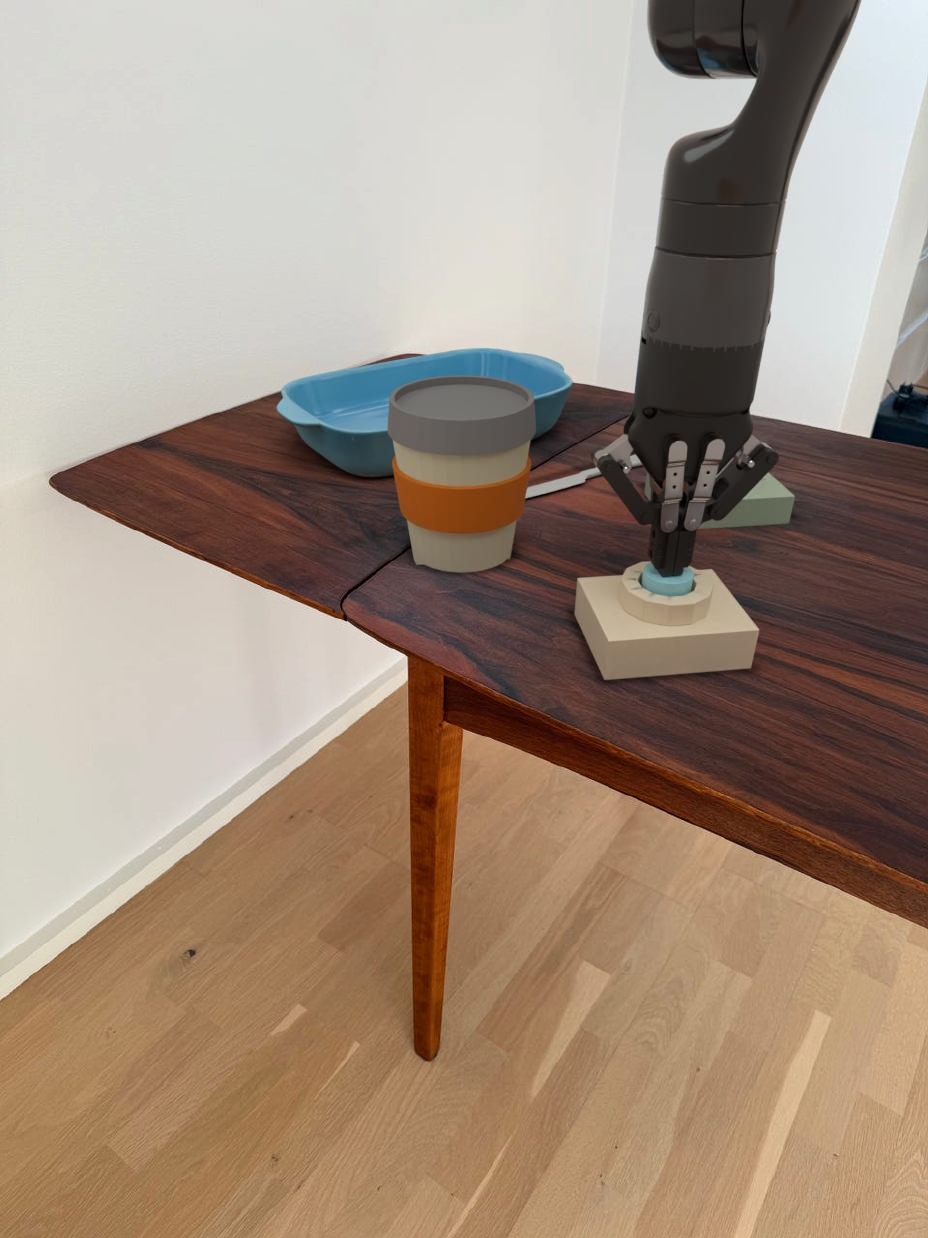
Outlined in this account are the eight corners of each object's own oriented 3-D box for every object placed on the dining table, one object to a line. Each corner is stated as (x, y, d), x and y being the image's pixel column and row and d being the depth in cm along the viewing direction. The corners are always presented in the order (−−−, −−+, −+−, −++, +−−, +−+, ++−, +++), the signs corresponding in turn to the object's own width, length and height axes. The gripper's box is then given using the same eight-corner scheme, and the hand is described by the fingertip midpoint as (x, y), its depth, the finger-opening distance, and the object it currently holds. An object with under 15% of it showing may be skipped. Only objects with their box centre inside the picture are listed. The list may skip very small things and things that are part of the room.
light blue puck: (680, 581, 65) (683, 558, 64) (697, 606, 62) (701, 581, 61) (634, 585, 64) (637, 561, 63) (649, 609, 61) (652, 585, 60)
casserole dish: (331, 504, 88) (325, 438, 84) (253, 440, 104) (245, 382, 100) (604, 436, 105) (609, 378, 101) (501, 390, 121) (502, 338, 117)
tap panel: (750, 486, 92) (755, 458, 90) (790, 525, 84) (797, 496, 82) (642, 492, 91) (646, 464, 89) (673, 532, 82) (677, 502, 81)
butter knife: (668, 457, 98) (650, 449, 100) (496, 505, 87) (480, 495, 89) (667, 460, 98) (649, 452, 100) (496, 508, 87) (480, 498, 89)
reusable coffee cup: (558, 556, 78) (568, 396, 70) (460, 606, 71) (459, 433, 63) (463, 514, 86) (463, 366, 78) (366, 555, 78) (354, 395, 70)
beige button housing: (704, 613, 70) (715, 548, 67) (749, 677, 62) (764, 608, 59) (573, 622, 69) (578, 557, 65) (603, 689, 61) (611, 619, 58)
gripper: (778, 309, 57) (733, 542, 66) (584, 315, 55) (566, 552, 64) (834, 338, 50) (775, 591, 59) (616, 345, 49) (591, 603, 58)
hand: (667, 570), depth 62 cm, fingers closed
